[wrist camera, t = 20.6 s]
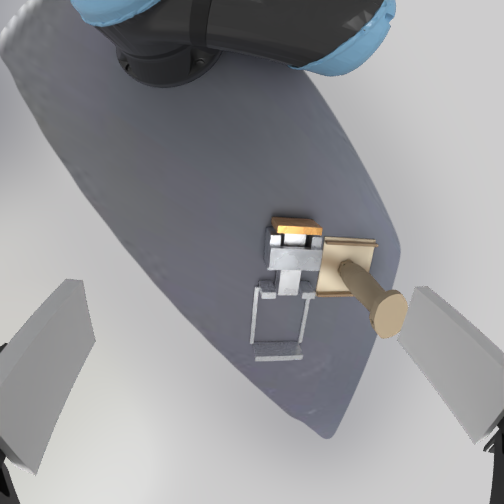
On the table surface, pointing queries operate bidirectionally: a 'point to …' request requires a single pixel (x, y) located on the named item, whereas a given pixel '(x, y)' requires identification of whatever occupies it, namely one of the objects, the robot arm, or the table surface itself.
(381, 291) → the handle
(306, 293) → the silver rectangular frame
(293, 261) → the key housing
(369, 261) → the tan base plate
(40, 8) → the table surface
